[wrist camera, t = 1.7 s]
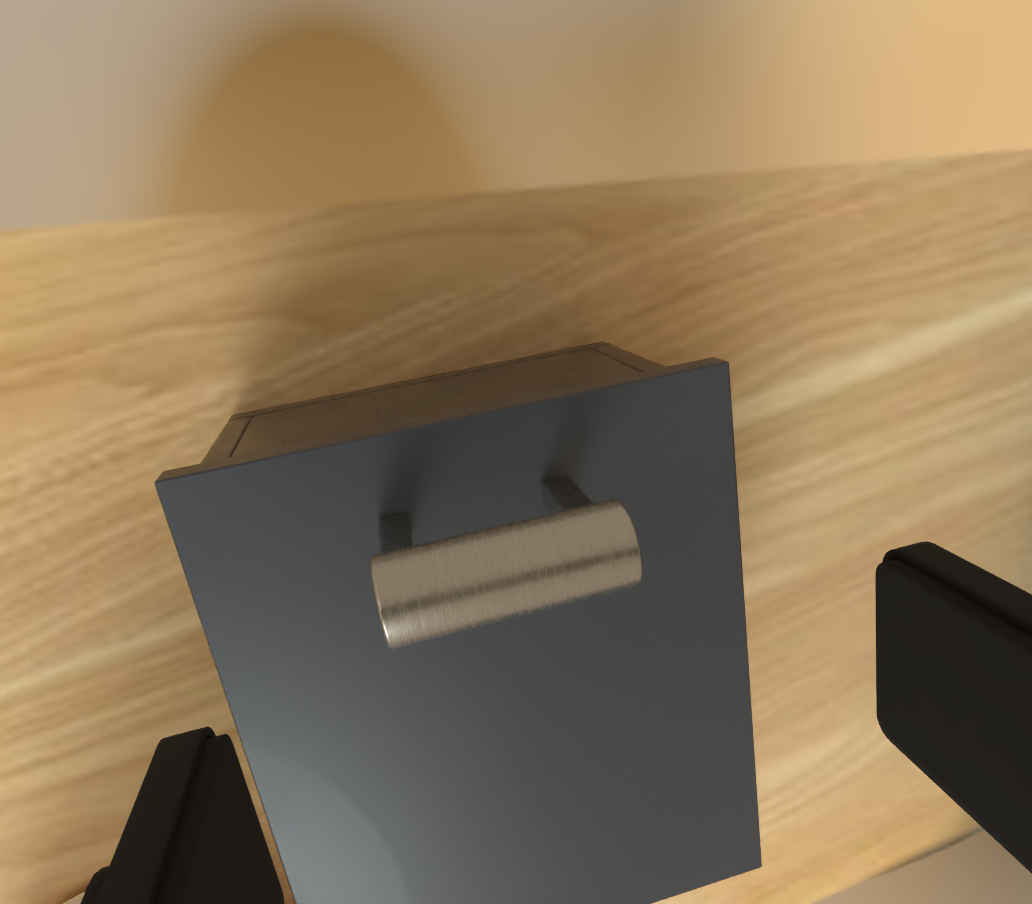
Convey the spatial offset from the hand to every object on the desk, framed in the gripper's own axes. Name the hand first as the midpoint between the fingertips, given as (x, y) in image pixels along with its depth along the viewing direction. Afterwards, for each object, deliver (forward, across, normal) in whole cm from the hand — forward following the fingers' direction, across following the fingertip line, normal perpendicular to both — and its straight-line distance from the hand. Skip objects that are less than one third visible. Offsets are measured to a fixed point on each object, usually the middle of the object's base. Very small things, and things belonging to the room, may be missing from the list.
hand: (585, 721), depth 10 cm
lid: (+9, 0, +6) cm, 10 cm away
